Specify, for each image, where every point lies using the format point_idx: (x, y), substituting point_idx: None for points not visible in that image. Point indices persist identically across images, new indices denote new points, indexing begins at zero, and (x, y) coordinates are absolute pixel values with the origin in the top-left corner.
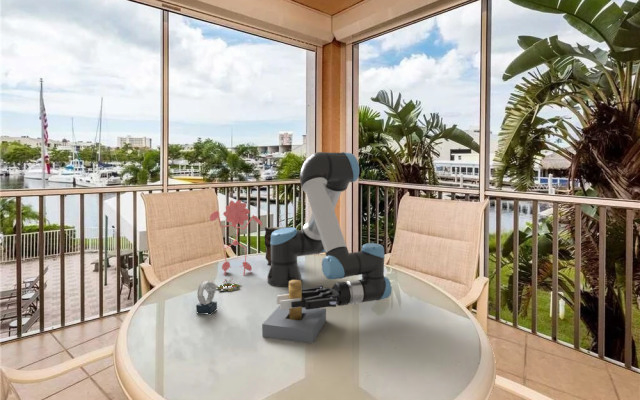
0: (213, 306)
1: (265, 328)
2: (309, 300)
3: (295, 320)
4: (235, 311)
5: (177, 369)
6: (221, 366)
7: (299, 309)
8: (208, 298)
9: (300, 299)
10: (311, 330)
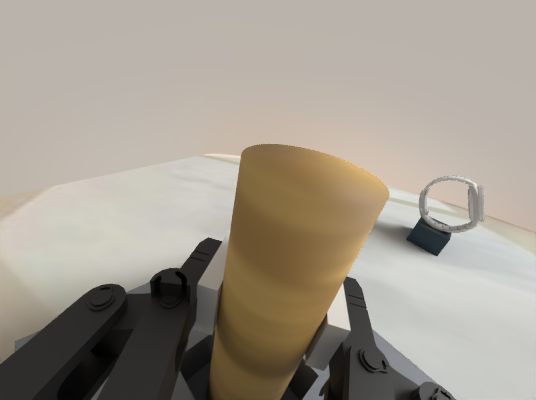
0: (428, 235)
1: None
2: (87, 331)
3: (200, 332)
4: (432, 281)
5: (235, 170)
6: (200, 187)
7: (214, 343)
8: (455, 227)
9: (199, 286)
10: (24, 337)
